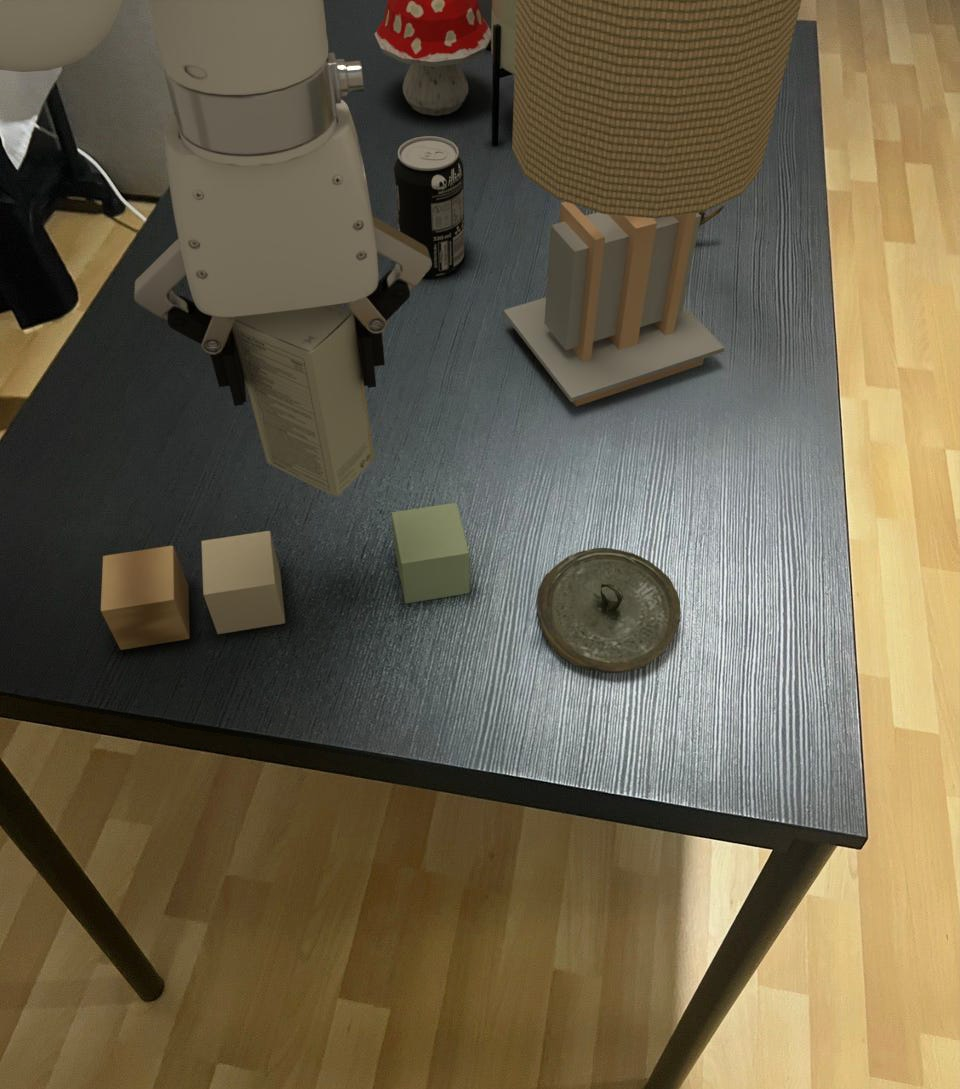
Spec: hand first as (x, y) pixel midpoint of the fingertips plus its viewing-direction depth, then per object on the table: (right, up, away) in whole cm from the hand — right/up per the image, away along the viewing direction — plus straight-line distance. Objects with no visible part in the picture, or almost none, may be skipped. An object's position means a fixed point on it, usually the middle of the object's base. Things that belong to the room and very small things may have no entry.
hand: (303, 379), depth 61 cm
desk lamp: (+23, +8, +34) cm, 42 cm away
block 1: (-14, -16, +14) cm, 25 cm away
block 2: (-7, -14, +15) cm, 22 cm away
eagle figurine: (+31, +24, +46) cm, 61 cm away
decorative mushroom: (+5, +44, +63) cm, 77 cm away
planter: (+20, +40, +59) cm, 74 cm away
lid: (+20, -16, +14) cm, 29 cm away
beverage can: (+6, +19, +42) cm, 47 cm away
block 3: (+7, -12, +17) cm, 22 cm away
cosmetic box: (0, -5, +6) cm, 7 cm away
